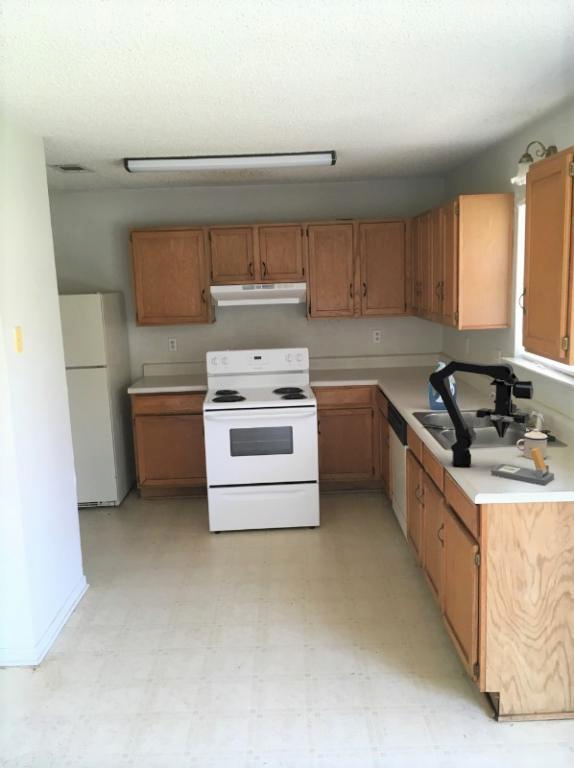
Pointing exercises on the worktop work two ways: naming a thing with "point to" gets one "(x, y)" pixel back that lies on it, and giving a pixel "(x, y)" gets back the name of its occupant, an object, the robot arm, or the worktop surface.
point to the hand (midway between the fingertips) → (501, 437)
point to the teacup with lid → (534, 443)
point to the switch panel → (523, 474)
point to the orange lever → (538, 460)
